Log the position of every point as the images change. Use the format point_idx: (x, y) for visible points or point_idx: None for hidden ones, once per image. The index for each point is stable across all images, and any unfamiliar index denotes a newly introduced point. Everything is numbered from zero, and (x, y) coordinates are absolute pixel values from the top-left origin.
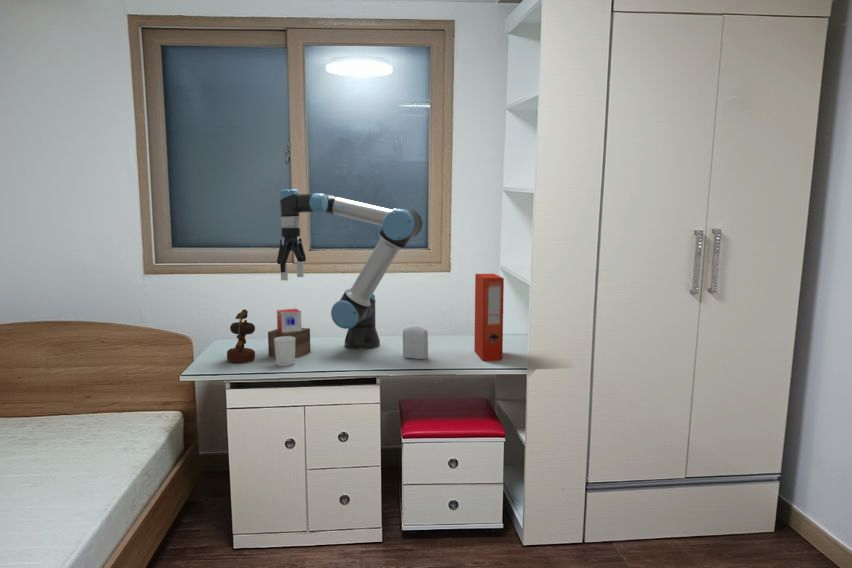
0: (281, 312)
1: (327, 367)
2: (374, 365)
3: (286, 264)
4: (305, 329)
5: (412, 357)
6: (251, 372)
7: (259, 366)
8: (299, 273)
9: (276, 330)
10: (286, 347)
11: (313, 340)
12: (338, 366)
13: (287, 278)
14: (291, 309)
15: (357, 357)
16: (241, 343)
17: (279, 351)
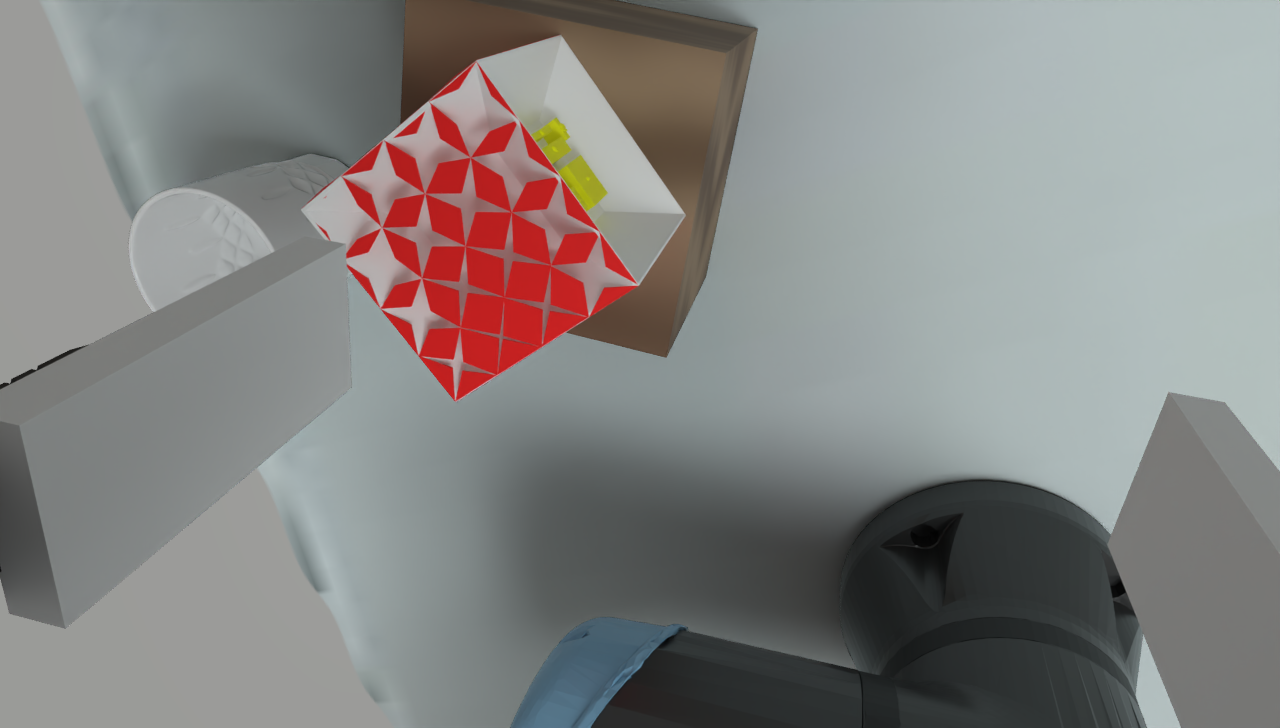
0: (494, 125)
1: (335, 482)
2: (445, 693)
3: (21, 614)
4: (603, 332)
5: None
6: (76, 70)
7: (217, 52)
8: (1168, 519)
9: (497, 52)
10: (193, 289)
11: (1276, 143)
12: (373, 533)
13: (316, 403)
14: (571, 243)
15: (606, 601)
16: None
17: (194, 228)
